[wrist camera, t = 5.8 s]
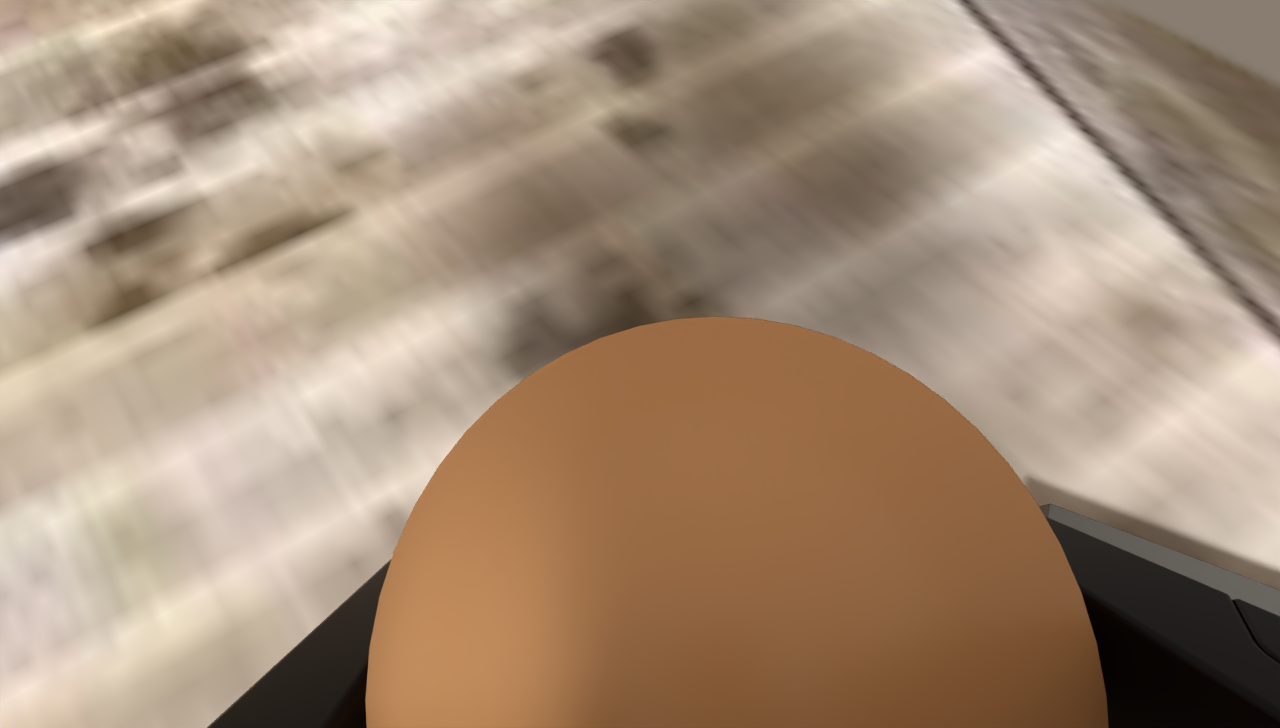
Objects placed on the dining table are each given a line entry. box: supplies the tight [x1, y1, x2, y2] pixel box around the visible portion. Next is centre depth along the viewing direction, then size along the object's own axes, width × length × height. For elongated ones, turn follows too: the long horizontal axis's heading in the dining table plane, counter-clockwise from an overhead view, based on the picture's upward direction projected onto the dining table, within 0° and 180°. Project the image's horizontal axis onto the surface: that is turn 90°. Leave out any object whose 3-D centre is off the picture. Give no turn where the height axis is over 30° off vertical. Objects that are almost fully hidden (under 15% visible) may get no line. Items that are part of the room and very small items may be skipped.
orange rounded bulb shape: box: [365, 316, 1109, 728], centre depth 9 cm, size 6×6×8 cm
